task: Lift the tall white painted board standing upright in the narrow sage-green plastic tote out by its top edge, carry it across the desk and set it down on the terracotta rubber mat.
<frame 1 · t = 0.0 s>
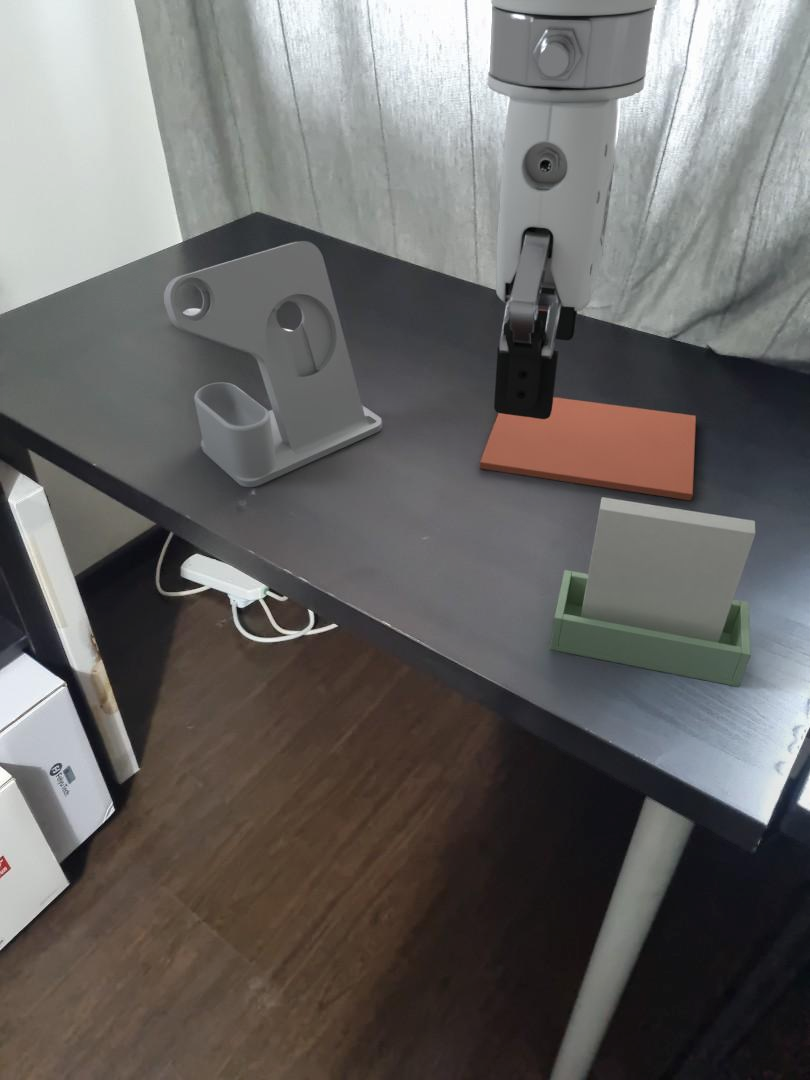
hand: (536, 372, 50), 22 cm above the table, tool pointing down, fingers open, 9 cm apart
tote: (644, 641, 63), on the table
board: (645, 637, 63), resting on tote
mat: (590, 444, 84), on the table
phone holder: (291, 438, 86), on the table
marker: (240, 336, 104), on the table
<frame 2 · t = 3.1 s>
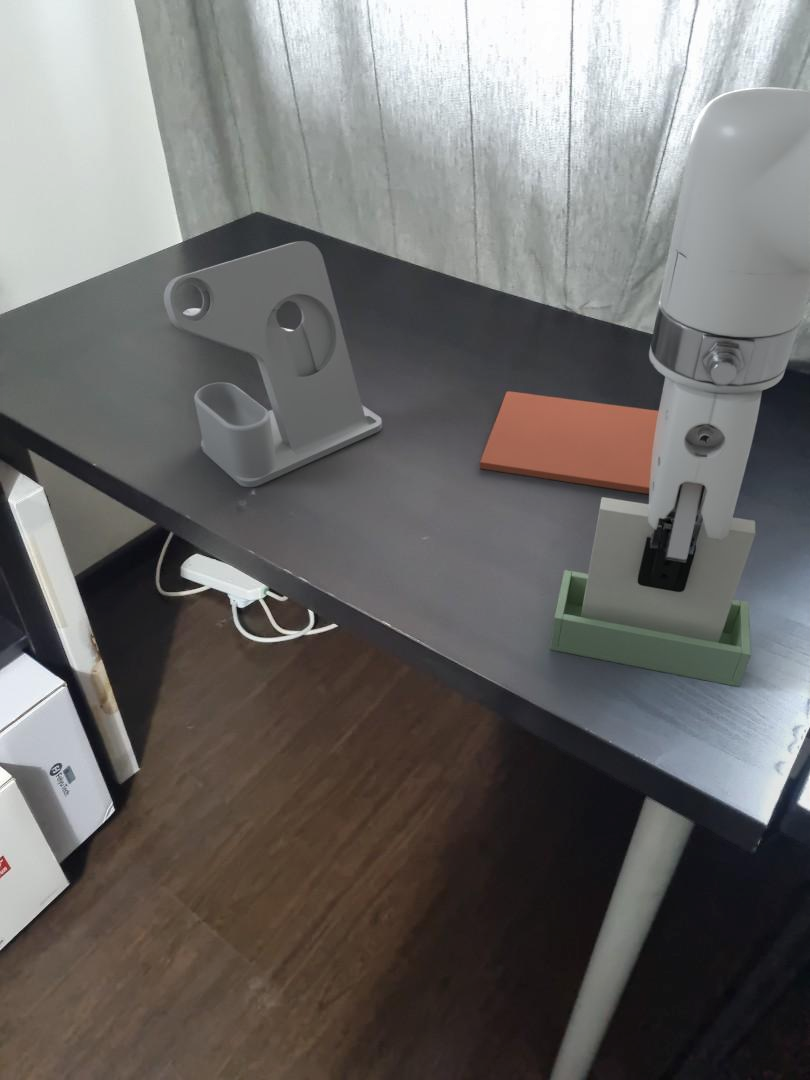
hand: (661, 574, 59), 7 cm above the table, tool pointing down, fingers closed on board, 1 cm apart
board: (645, 637, 63), resting on tote, touching gripper
everything else where it was.
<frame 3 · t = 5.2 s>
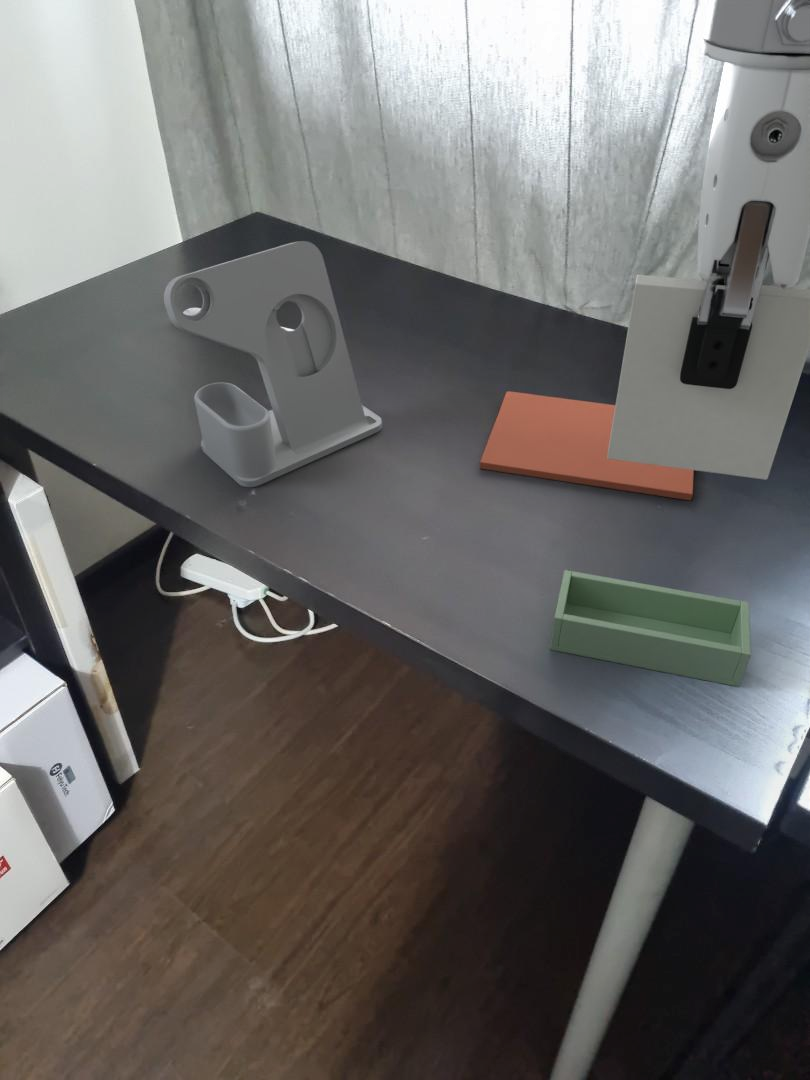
hand: (707, 373, 50), 22 cm above the table, tool pointing down, fingers closed on board, 1 cm apart
board: (685, 463, 54), point 16 cm above the table, touching gripper
everything else where it was.
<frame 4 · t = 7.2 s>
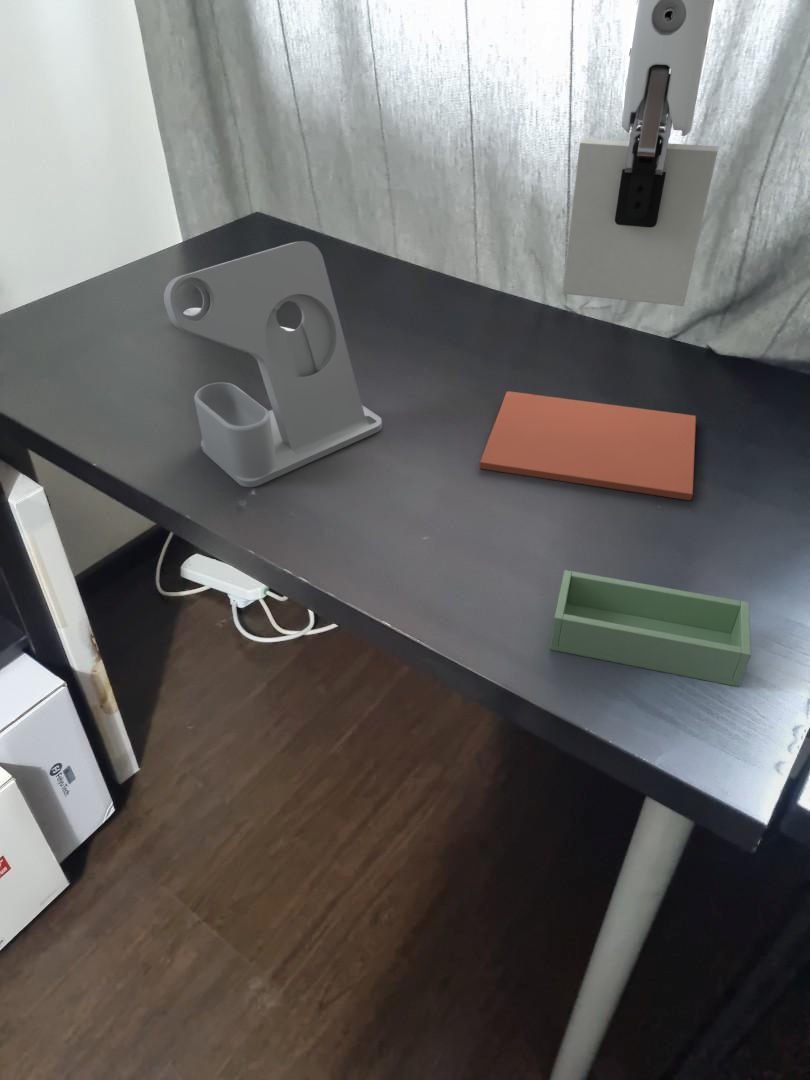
hand: (636, 218, 66), 24 cm above the table, tool pointing down, fingers closed on board, 1 cm apart
board: (622, 296, 70), point 17 cm above the table, touching gripper
everything else where it was.
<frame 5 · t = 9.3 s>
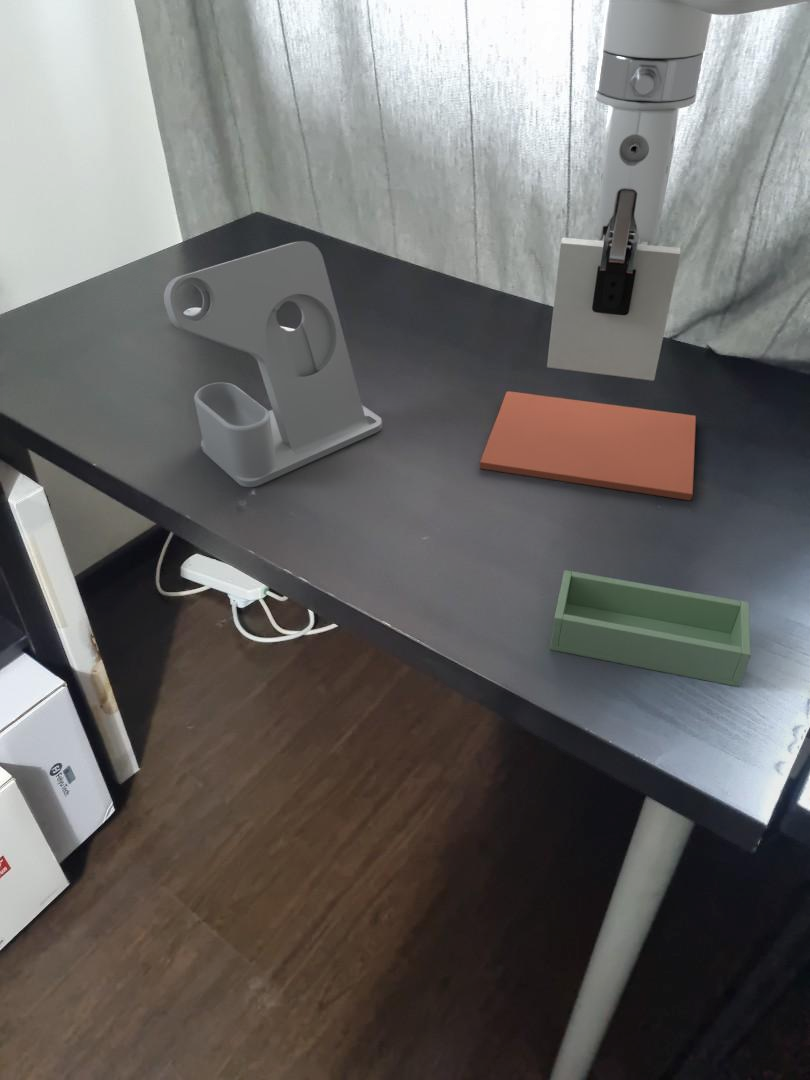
hand: (611, 306, 74), 15 cm above the table, tool pointing down, fingers closed on board, 1 cm apart
board: (600, 370, 78), point 8 cm above the table, touching gripper
everything else where it was.
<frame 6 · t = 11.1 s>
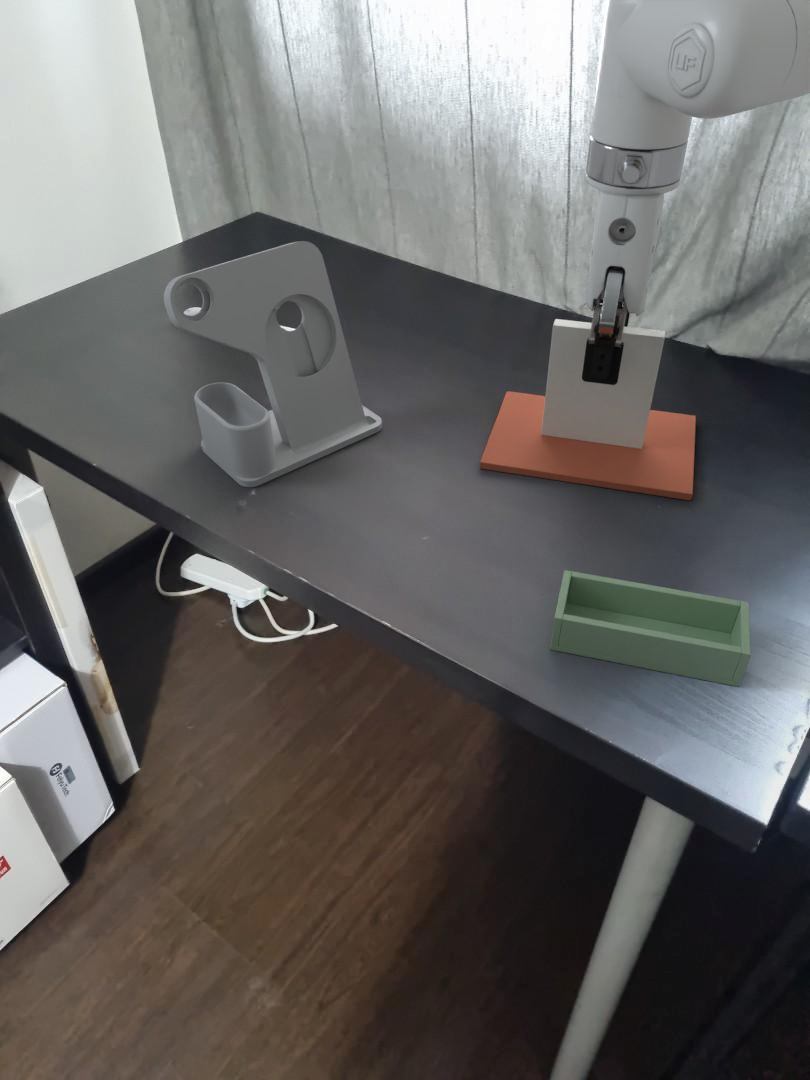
hand: (603, 361, 78), 9 cm above the table, tool pointing down, fingers open, 6 cm apart
board: (591, 438, 83), point 1 cm above the table, touching mat
everything else where it was.
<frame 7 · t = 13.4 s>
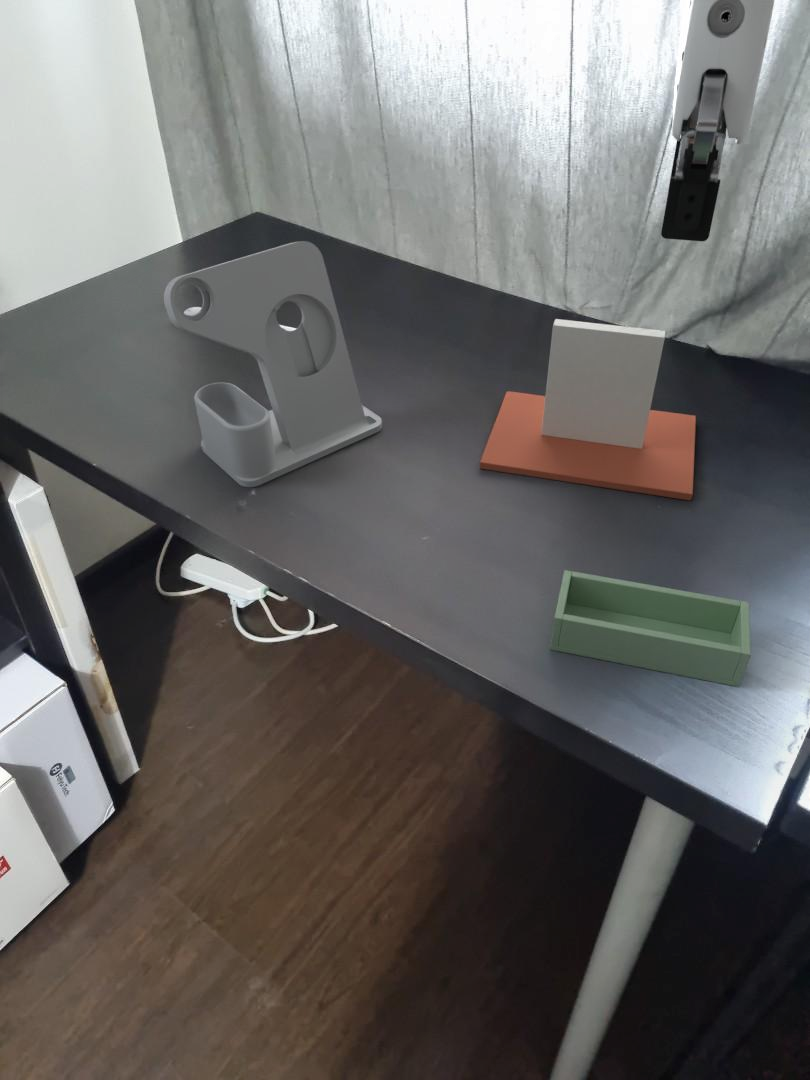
hand: (686, 215, 61), 25 cm above the table, tool pointing down, fingers open, 9 cm apart
nothing on the table moved.
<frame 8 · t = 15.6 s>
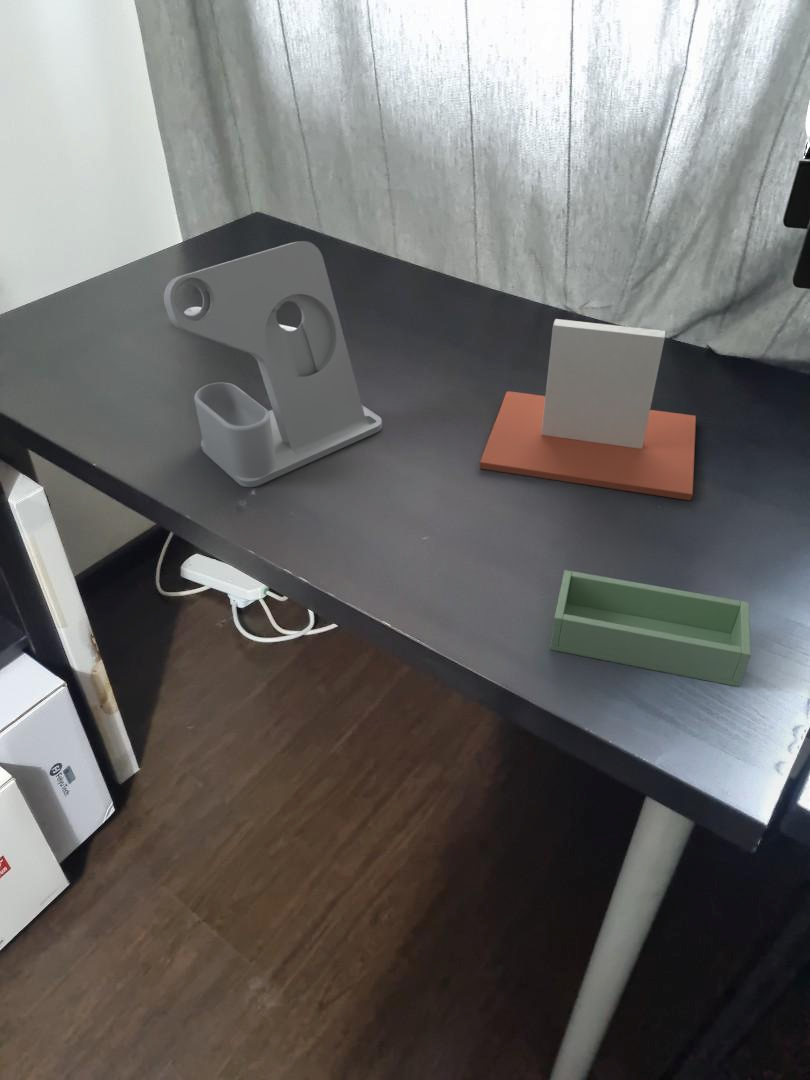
nothing on the table moved.
at the end: board inside the target area on the mat (0.1 cm from its centre), point 0.8 cm above the mat's base; board touching mat; the gripper is holding nothing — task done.
